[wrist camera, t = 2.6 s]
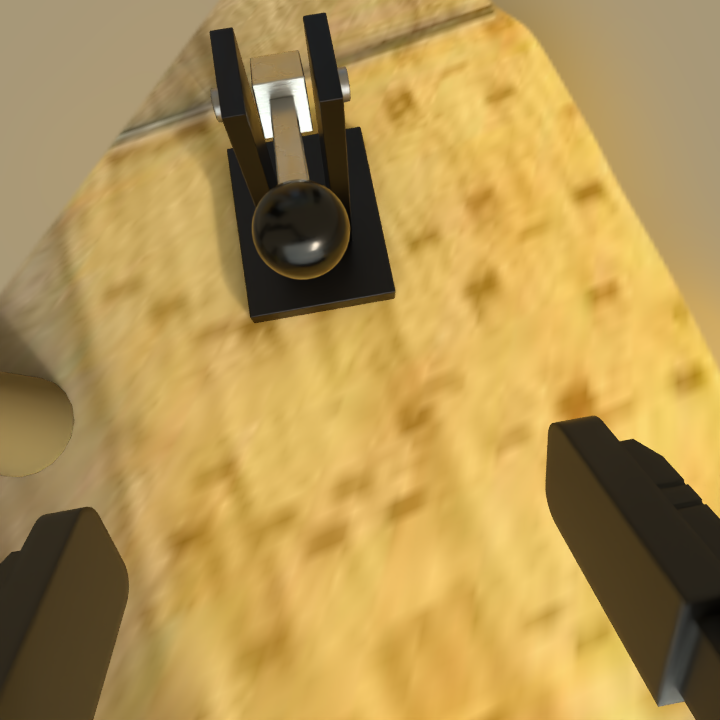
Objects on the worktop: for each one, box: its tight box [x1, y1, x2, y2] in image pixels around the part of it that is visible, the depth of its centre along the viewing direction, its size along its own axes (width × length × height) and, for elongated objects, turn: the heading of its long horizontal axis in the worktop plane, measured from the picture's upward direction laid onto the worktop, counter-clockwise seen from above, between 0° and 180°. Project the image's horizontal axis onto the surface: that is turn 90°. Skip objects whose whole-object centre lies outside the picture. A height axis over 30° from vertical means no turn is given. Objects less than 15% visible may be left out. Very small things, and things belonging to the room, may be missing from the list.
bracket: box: [210, 13, 395, 323], centre depth 29 cm, size 12×9×14 cm
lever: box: [250, 50, 350, 280], centre depth 21 cm, size 13×3×3 cm, turn 10°
